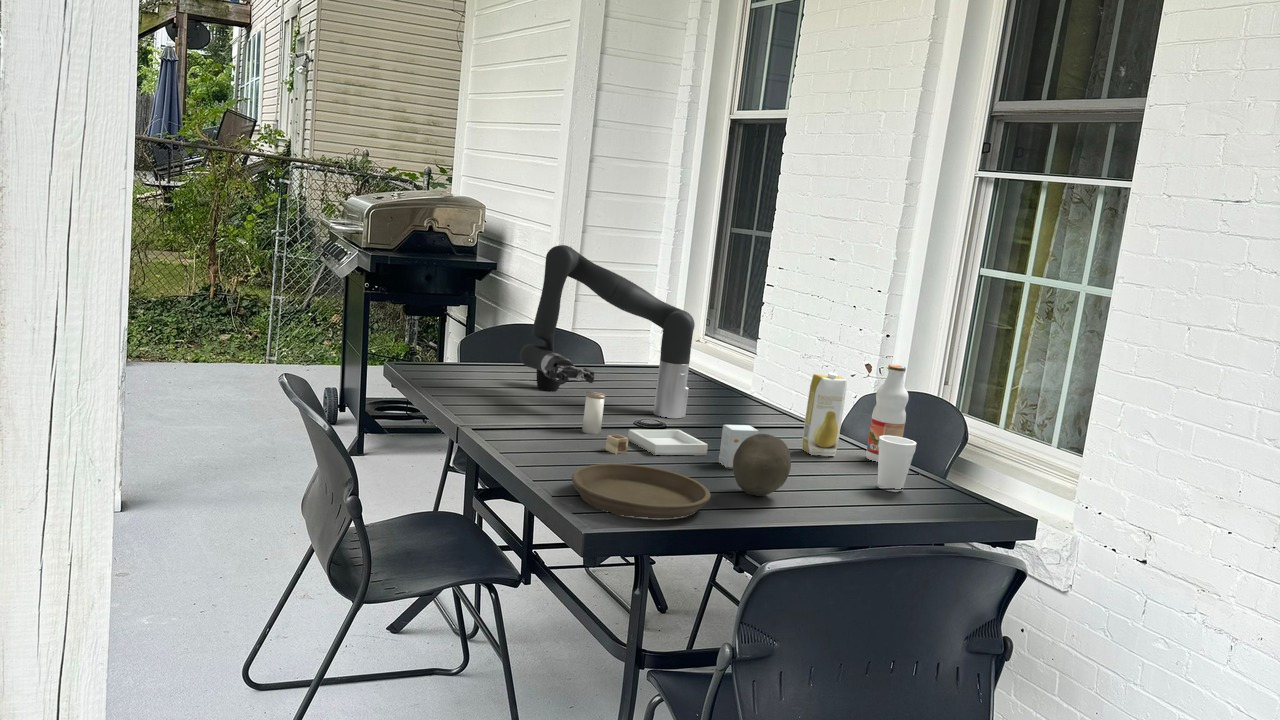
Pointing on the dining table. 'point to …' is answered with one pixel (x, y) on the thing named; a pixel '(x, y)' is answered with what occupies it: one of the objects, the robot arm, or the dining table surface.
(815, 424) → the juice carton
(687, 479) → the plant saucer
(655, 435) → the tray
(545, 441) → the dining table surface
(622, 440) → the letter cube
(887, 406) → the fruit juice
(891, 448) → the foam cup
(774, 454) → the cantaloupe
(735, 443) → the small box
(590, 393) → the canister
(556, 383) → the mug
